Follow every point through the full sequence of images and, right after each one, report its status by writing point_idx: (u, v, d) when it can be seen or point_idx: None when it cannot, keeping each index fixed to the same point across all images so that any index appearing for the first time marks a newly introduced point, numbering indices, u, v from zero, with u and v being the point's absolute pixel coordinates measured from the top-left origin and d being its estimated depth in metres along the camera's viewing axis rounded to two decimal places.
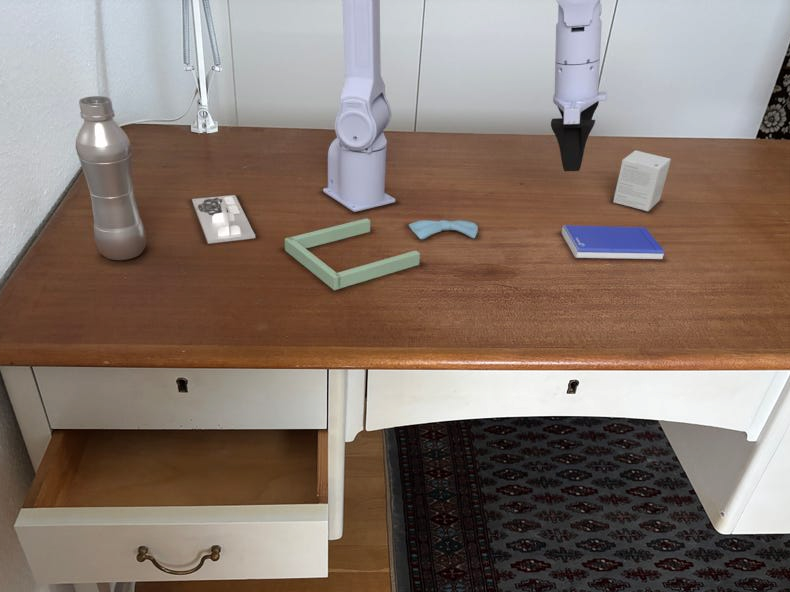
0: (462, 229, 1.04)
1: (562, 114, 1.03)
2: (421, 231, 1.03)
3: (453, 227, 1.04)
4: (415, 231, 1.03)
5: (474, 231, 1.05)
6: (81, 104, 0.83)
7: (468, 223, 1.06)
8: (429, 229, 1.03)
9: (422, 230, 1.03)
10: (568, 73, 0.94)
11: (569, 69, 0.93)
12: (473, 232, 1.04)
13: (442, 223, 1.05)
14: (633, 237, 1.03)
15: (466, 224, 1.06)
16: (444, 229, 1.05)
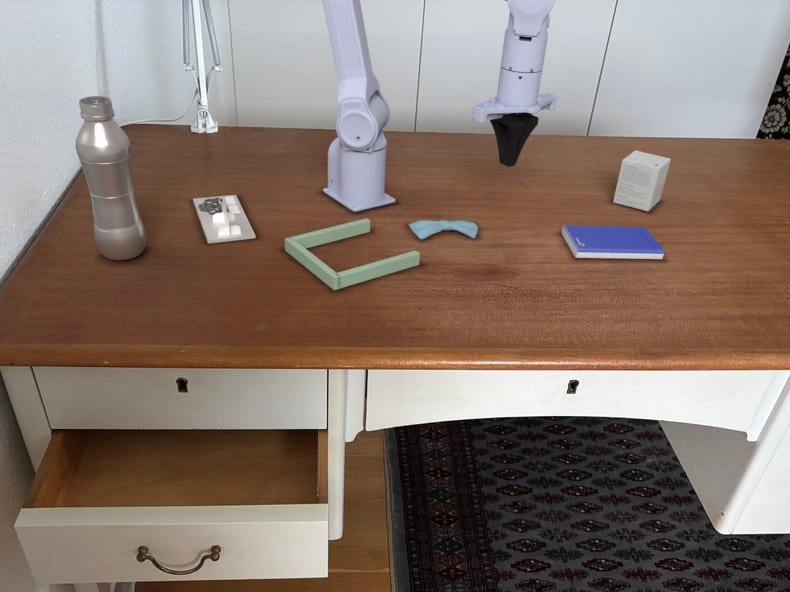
0: (462, 229, 1.04)
1: None
2: (421, 231, 1.03)
3: (453, 227, 1.04)
4: (415, 231, 1.03)
5: (474, 231, 1.05)
6: (81, 104, 0.83)
7: (468, 223, 1.06)
8: (429, 229, 1.03)
9: (422, 230, 1.03)
10: (501, 76, 0.98)
11: (502, 72, 0.98)
12: (473, 232, 1.04)
13: (442, 223, 1.05)
14: (633, 237, 1.03)
15: (466, 224, 1.06)
16: (444, 229, 1.05)
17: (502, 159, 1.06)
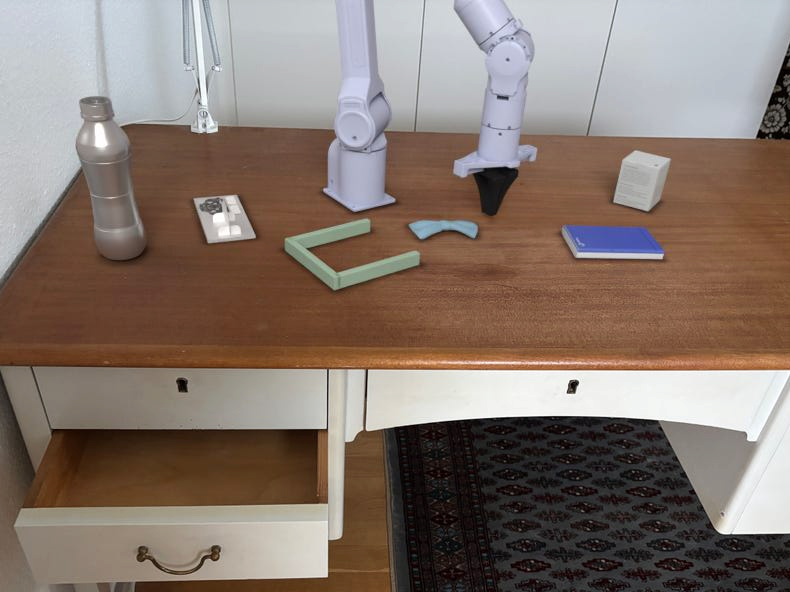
0: (462, 229, 1.04)
1: None
2: (421, 231, 1.03)
3: (453, 227, 1.04)
4: (415, 231, 1.03)
5: (474, 231, 1.05)
6: (81, 104, 0.83)
7: (468, 223, 1.06)
8: (429, 229, 1.03)
9: (422, 230, 1.03)
10: (482, 131, 1.01)
11: (482, 128, 1.01)
12: (473, 232, 1.04)
13: (442, 223, 1.05)
14: (633, 237, 1.03)
15: (466, 224, 1.06)
16: (444, 229, 1.05)
17: (484, 208, 1.09)
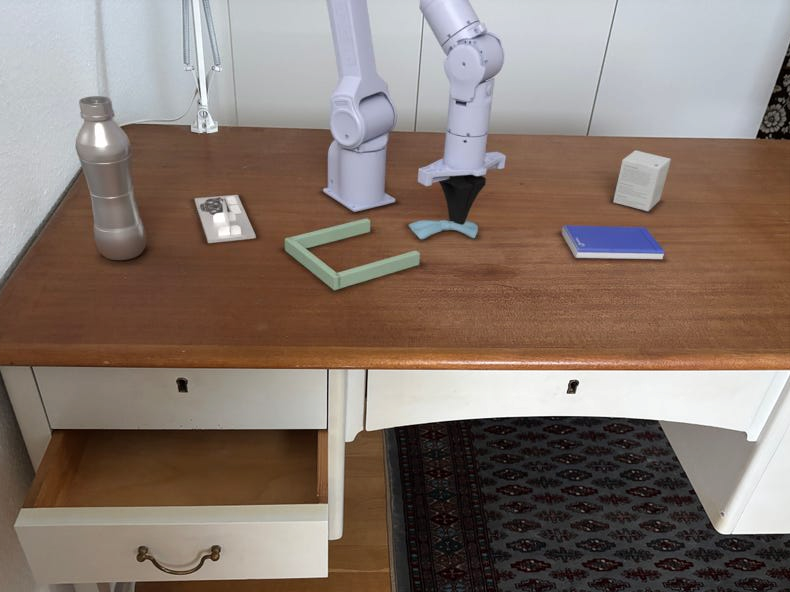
0: (462, 229, 1.04)
1: None
2: (421, 231, 1.03)
3: (453, 227, 1.04)
4: (415, 231, 1.03)
5: (474, 231, 1.05)
6: (81, 104, 0.83)
7: (468, 223, 1.06)
8: (429, 229, 1.03)
9: (422, 230, 1.03)
10: (447, 139, 0.98)
11: (447, 135, 0.98)
12: (473, 232, 1.04)
13: (442, 223, 1.05)
14: (633, 237, 1.03)
15: (466, 224, 1.06)
16: (444, 229, 1.05)
17: (452, 217, 1.06)
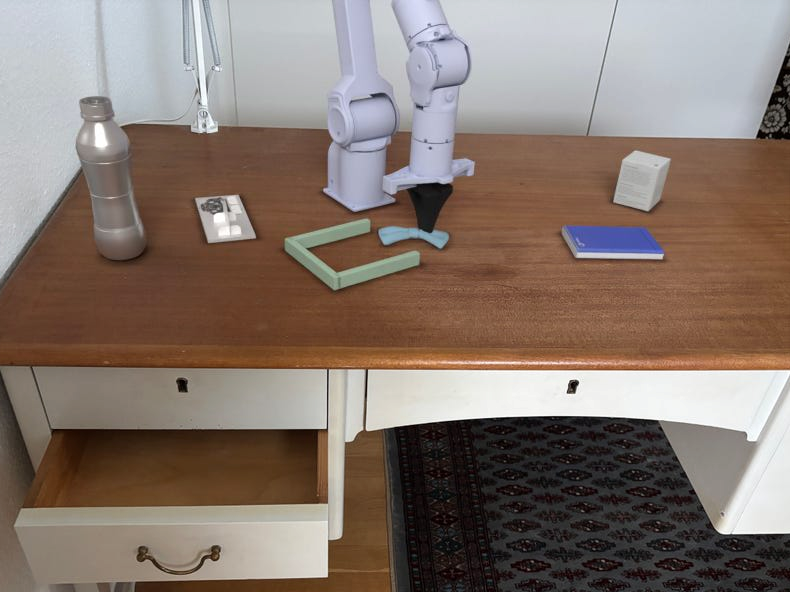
0: (430, 239, 1.01)
1: None
2: (386, 237, 1.01)
3: (421, 235, 1.01)
4: (381, 236, 1.02)
5: (442, 241, 1.02)
6: (81, 104, 0.83)
7: (439, 233, 1.03)
8: (395, 235, 1.01)
9: (387, 236, 1.01)
10: (412, 145, 0.95)
11: (412, 142, 0.95)
12: (441, 243, 1.01)
13: (410, 230, 1.02)
14: (633, 237, 1.03)
15: (437, 234, 1.03)
16: (412, 237, 1.02)
17: (420, 226, 1.03)
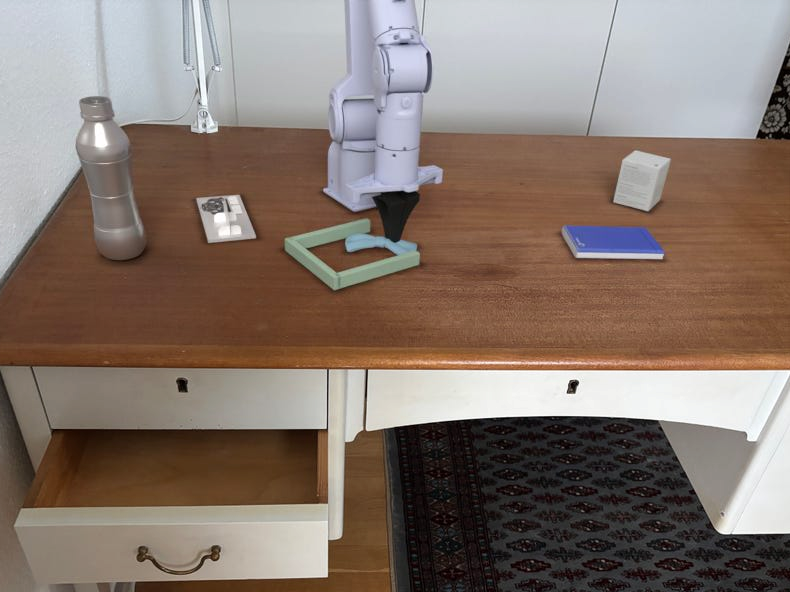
0: (394, 249, 0.98)
1: None
2: (350, 244, 0.99)
3: (386, 245, 0.99)
4: (346, 243, 0.99)
5: None
6: (81, 104, 0.83)
7: (407, 244, 1.00)
8: (359, 243, 0.99)
9: (352, 243, 0.99)
10: (376, 152, 0.92)
11: (376, 149, 0.92)
12: None
13: (377, 239, 0.99)
14: (633, 237, 1.03)
15: (405, 244, 0.99)
16: (378, 246, 0.99)
17: (387, 235, 1.00)
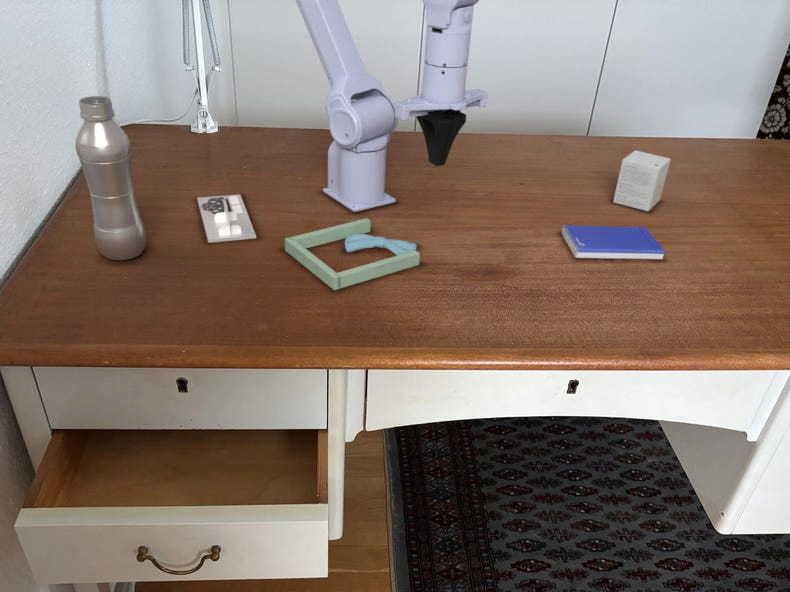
0: (394, 249, 0.98)
1: None
2: (349, 244, 0.99)
3: (385, 245, 0.98)
4: (345, 243, 0.99)
5: None
6: (81, 104, 0.83)
7: (407, 244, 1.00)
8: (359, 243, 0.99)
9: (351, 243, 0.99)
10: (424, 71, 0.94)
11: (425, 67, 0.94)
12: None
13: (376, 239, 0.99)
14: (633, 237, 1.03)
15: (404, 245, 0.99)
16: (377, 246, 0.99)
17: (431, 158, 1.01)
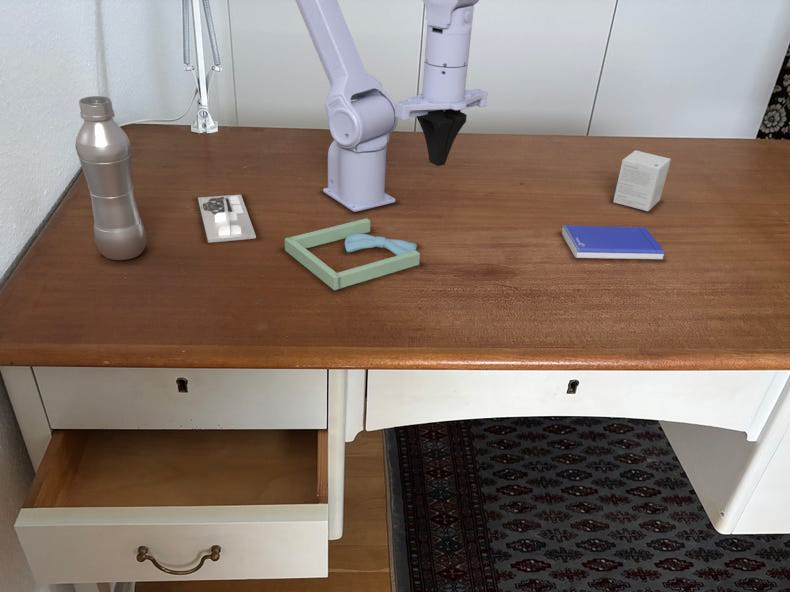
0: (394, 249, 0.98)
1: None
2: (349, 244, 0.99)
3: (385, 245, 0.98)
4: (345, 243, 0.99)
5: None
6: (81, 104, 0.83)
7: (407, 244, 1.00)
8: (359, 243, 0.99)
9: (351, 243, 0.99)
10: (425, 71, 0.94)
11: (425, 67, 0.94)
12: None
13: (376, 239, 0.99)
14: (633, 237, 1.03)
15: (404, 245, 0.99)
16: (377, 246, 0.99)
17: (431, 158, 1.01)
